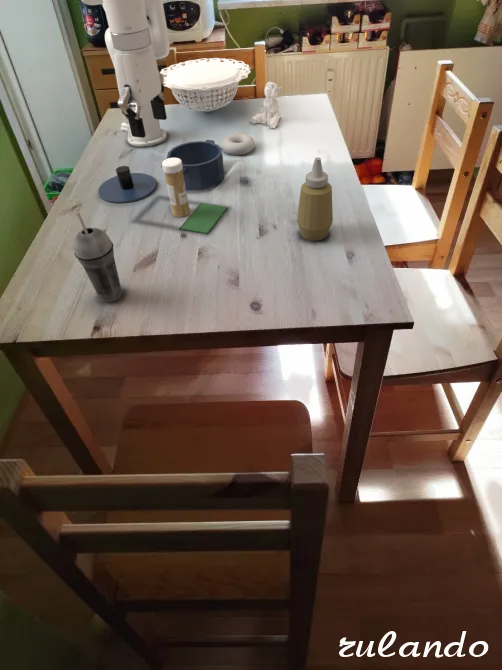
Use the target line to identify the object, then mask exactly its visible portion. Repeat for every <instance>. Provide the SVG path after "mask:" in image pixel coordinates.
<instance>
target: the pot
mask: <svg viewBox="0 0 502 670" xmlns="http://www.w3.org/2000/svg"><path fill="white" fill-rule="evenodd" d="M168 158H179V159H180V160H181V161H182V166H183V170H182V171H183V176H184V182H185V186H186V191H192V192H193V191H203V190H208V189H211V188H214V189H215V188H217V187H219V186H220V185H221V184H223V182H224V180H225V178H226V177H225V165H224V154H223V147H222V146H220V145H219V144H217V143H216V142H215V140H214V139H205V140H196V141H189V142H184V143H180V144H178V145H176V146H174V147H172V148H171V149H170V150H169V151H168V152H167V155H166V159H168Z"/></svg>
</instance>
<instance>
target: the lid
mask: <svg viewBox="0 0 502 670" xmlns="http://www.w3.org/2000/svg"><path fill="white" fill-rule="evenodd" d="M115 173H116V175H115V176H113V177H110V178H108V179H107V180H105V181H104V182H102V183H101V185H100V186H99V187H98V191H97V192H98V196H99V198H100V199H101V200H102V201H104V202H107V203H111V204H128V203H134V202H138V201H140V200H142V199H145V198H147V197H148V196H150V195H152V194H153V192H155V190H156V188H157V181H156V179H155V178H154V177H153V176H152V175H150V174H147V173H143V172H131V169H130V166H129V165H121V166H118V167H117V168H116V169H115Z"/></svg>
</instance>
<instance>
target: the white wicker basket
mask: <svg viewBox="0 0 502 670" xmlns="http://www.w3.org/2000/svg"><path fill="white" fill-rule="evenodd" d="M251 70H252V69H251V67H250V65H249V64H246V63H245V61H243V60H236V59H234V58H226V57H224V58H221V57H220V58H219V57H213V58H205V57H204V58H203V57H202V58H198V59H197V58H196V59H189V60H185V61H183V62H179V63H174V64H171V65H170V66H167V67H164V68H162V69H161V70H160V71H159V73H161V74H163V75H164V84H163V85H164V88H165V87H167V88H168V89H170V90H171V93H172V95H173V96H174V98H175V100H176V101H177V102H178V103H179V104H180V106H182V107H184V108H185V109H188V110H191V111H197V112H205V113H210V112H211V111H214V110H218V109H221V108H225V107H226V106H228V105H229V104H230V103H231V102H232V101H233V100H234V99H235V96H236V94H237V91H238V89H239V83H240V82H241V81H242V80H245V79H248V78H249V76H248V75H250V74H251V73H252V71H251ZM185 96H186V97H185Z"/></svg>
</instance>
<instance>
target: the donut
mask: <svg viewBox="0 0 502 670" xmlns="http://www.w3.org/2000/svg"><path fill="white" fill-rule="evenodd" d="M255 146H256V141H255V138H254V137H253V136H252V135H250V134H248V133H242V132H241V133H240V132H239V133H232V134H230V135H227V136H226V137H225V138H224V139H223V140H222V142H221V148H222V151H224V152H225V153H227V154H229V155H233V156H243V155H246V154H248V153H250V152H251V151H252V150H254V148H255Z"/></svg>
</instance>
